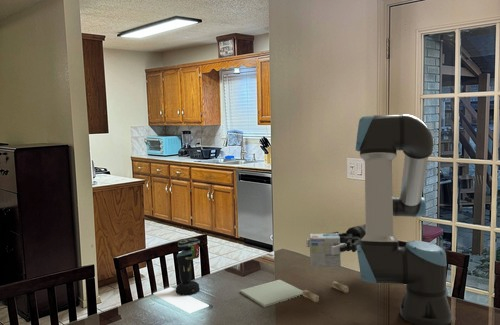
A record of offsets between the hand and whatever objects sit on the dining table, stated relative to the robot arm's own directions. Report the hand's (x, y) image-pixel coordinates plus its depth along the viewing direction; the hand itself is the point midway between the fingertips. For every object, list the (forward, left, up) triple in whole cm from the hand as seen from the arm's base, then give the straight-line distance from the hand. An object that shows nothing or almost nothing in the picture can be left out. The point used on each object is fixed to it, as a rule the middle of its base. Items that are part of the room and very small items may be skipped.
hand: (319, 247), depth 158 cm
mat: (+12, +12, -18) cm, 25 cm away
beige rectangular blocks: (0, -3, -18) cm, 18 cm away
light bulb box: (0, -3, -7) cm, 8 cm away
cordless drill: (+32, +36, -18) cm, 52 cm away
